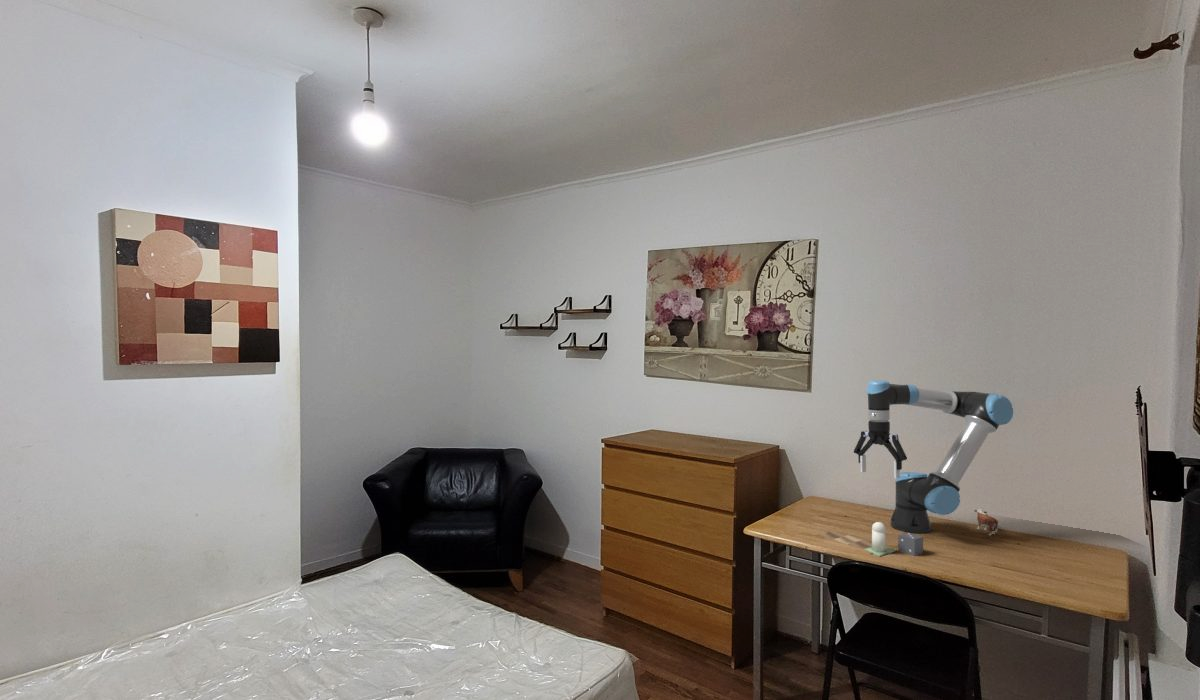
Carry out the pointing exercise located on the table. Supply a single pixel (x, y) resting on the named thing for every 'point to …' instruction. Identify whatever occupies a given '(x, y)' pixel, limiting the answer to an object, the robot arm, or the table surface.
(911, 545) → the die
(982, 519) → the bull figurine
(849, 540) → the lane
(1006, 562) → the table surface
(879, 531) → the pawn
